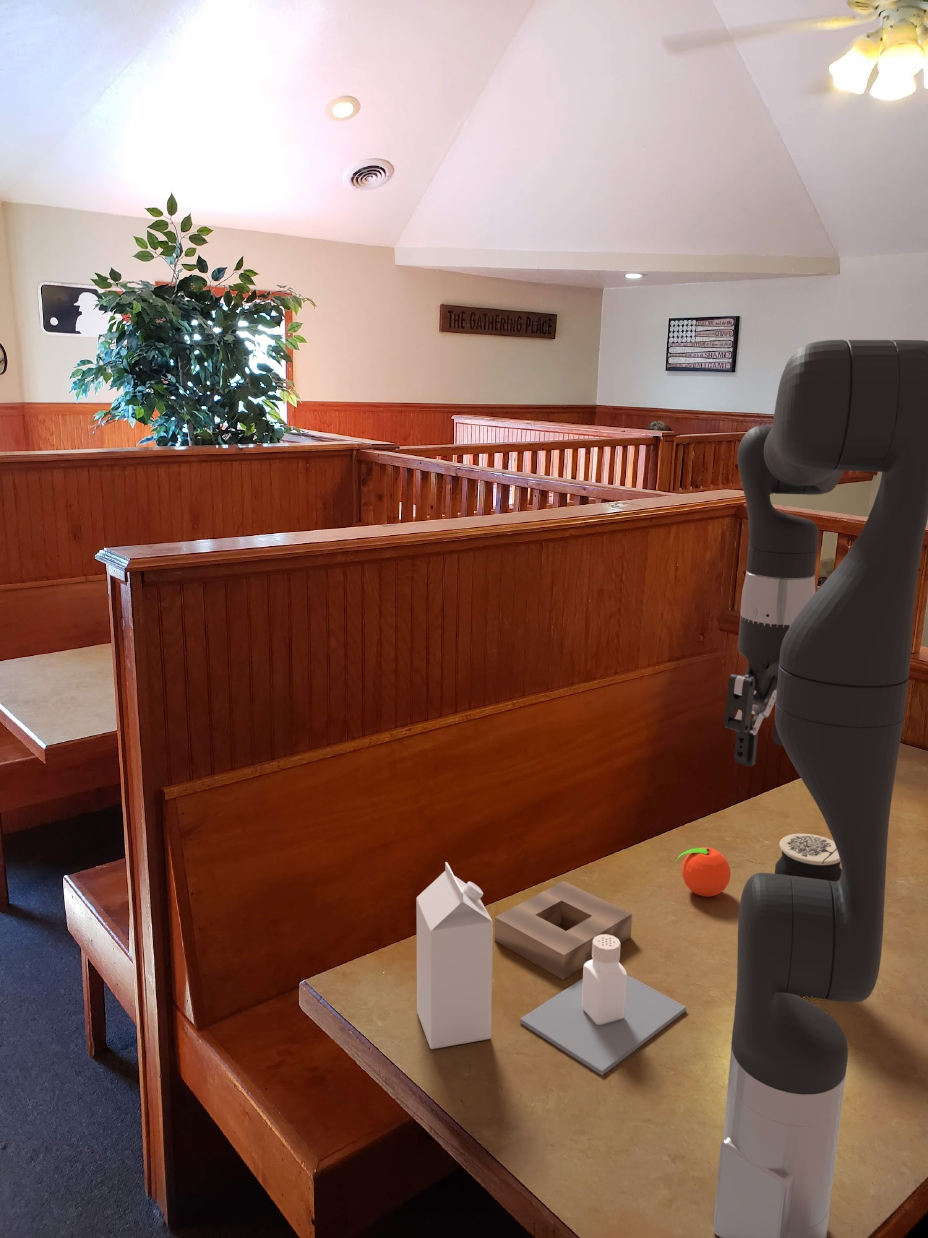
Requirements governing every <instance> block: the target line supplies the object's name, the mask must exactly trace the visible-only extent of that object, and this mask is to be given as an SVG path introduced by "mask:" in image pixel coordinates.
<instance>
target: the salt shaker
mask: <svg viewBox="0 0 928 1238" xmlns="http://www.w3.org/2000/svg"><path fill="white" fill-rule="evenodd" d="M621 945H622V943H620V941H619V939H618V938H616V937H614V936H612V935H607V934H604V935H598V936H596V937H594V939H593V941H592V957H593V959H592V960H589V961H587V962H586V963H585V964H584V966H583V968H582V969H583V971H582V972H583V973H582V978H583V990H582V1007H583V1009H584V1011H585V1012H586V1013H587V1014H588V1015H589V1016H590V1018H591V1019H592V1020H593V1021H594V1022H595V1023H596V1024H597V1025H603V1024H606V1023H610V1022H613V1021H617V1020H620V1019H622V1018H624V1016H625V1007H626V988H627V975H628V973H627V970H626V969H625V967H624V966H623V965H622V964H621V963H620V958H621V947H622V946H621Z"/></svg>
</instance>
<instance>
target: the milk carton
mask: <svg viewBox="0 0 928 1238" xmlns="http://www.w3.org/2000/svg"><path fill="white" fill-rule="evenodd" d="M444 863H445V864H444V865H445V866H444V868H445V870H444V871H443V872H442V873H441V874H440V875H439V876H438V877H437V878H436V879H435V880H433V882H432V883H430V885H428V886H427V887H426V888H425V889H424V890H423V891H422V892H421V893H420V894H419V895H417V897H416V1012H417V1016H418V1018H419V1022H420V1024H421V1027H422V1030H423V1033H424V1035H425V1038H426V1041H427V1043H428V1047H429V1048H430V1050H434V1049H440V1048H447V1047H451V1046H456V1045H457V1046H458V1045H463V1044H468V1043H469V1044H470V1043H474V1042H479V1041H485V1040H490V1039H491V1038H492V1006H493V1005H492V1004H493V1003H492V1001H493V999H492V998H493V997H492V996H493V949H494V947H493V942H494V940H493V939H494V935H493V933H494V922H493V920H492V918H491V915H490V914H489V912H488V911H487V909H486V906H484V903H483V902H482V899H481V898H482V897H483V895H484V892H483V890H482V889H481V887H479V886H478V885H477V884H476V883H474V882H472V881H467V883H466V882H464V881H463V880H462V879H460V878H458V877H457V876H455V875H454V873H453V871H452V869H451V866H450V865H449V863H448V862H446V861H445V862H444Z"/></svg>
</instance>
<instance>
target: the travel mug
mask: <svg viewBox="0 0 928 1238" xmlns="http://www.w3.org/2000/svg"><path fill="white" fill-rule="evenodd" d="M779 848H780V850H781V856H780V857H779V859H778V861H776V863H775V867H774V874H781V875H789V876H797V877H805V878H812V879H820V880H827V881H838V880H839V879H840V877H841V861H840V857H839V854H838V851H837V848H836V845H835V843H834V840H833V839H830V838H827V837H826V836H825V837H824V836H821V835H816V834H812V833H811V834H810V833H792V834H788V835H786V836H784V837H783V838H781V839H780V841H779Z"/></svg>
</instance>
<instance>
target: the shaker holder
mask: <svg viewBox="0 0 928 1238" xmlns="http://www.w3.org/2000/svg"><path fill="white" fill-rule="evenodd" d="M632 923H633V913H631V912H629V911H627V910H625V909H623V908H621V907H619V906H618V905H615V904H613V903H610V902H609V901H606V900H605V899H602V898H601V897H599V896H596V895H594V894H592V893H589V892H588V891H586V890H584V889H581V888H580V887H577V886H575V885H573V884H571V883H569V882H567V881H565V880H562V881H560V882H559V883H556V884H554V885H553V886H551V887H549V888H547V889H545V890H544V891H541V892H540V893H537V894H536V895H534V896H532V897H530V898H528V899H526V900H525V901H523V902H520V903H518V904H517V905H514V907H511V908H509V909H507V910H505V911H504V912H502V913H500V914H498V915H496V916H494V941H495V942H497V943H498V944H500V945H502V946H503V947H505V948H507V949H509V950H511V951H512V952H514V953H515V954H518V955H519V956H521V957H523V958H524V959H526V960H528V961H529V962H531V963H532V964H534V965H537V966H538V967H539V968H542V969H543V970H545V971H547V972H548V973H550V974H552V975H554V976H555V977H557V978H559V979H561V980H562V981H563V980H565V979H568V977H570V976H572V975H573V974H575V973H576V972H578V971H580V970H581V969H583V966H584V964H585V963H586V962H587V961H589V960H592V959H593V957H592V941H593V939H594V937H596V936H598V935H604V934H607V935H612V936H614V937H616V938H618V939H619V941H620V943H621V944H622V943H623V942H625V941H627V940H629V939H630V938H631V937H632ZM560 924H561V925H563V926H565V927H567V928H569V929H568V930H564V929H563V928H561V927H559V925H560Z"/></svg>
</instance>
